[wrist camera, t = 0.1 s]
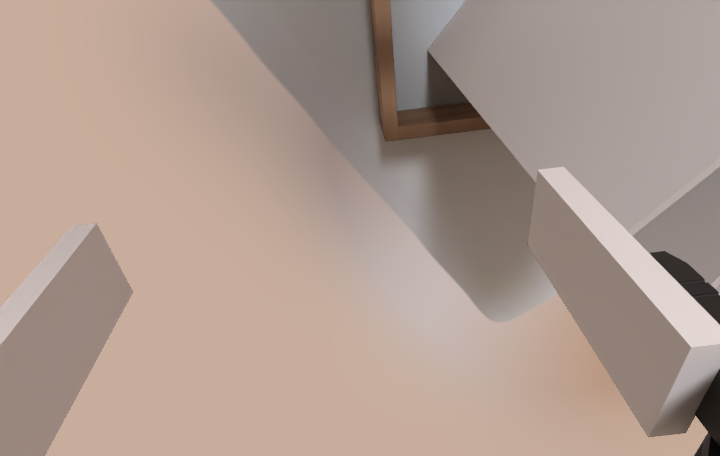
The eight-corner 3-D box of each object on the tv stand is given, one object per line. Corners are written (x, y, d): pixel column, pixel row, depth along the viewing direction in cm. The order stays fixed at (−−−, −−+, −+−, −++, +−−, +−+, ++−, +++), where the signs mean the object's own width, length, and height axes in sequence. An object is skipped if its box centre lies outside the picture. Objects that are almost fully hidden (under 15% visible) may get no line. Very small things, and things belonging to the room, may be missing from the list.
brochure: (470, 87, 41) (681, 322, 17) (426, 50, 39) (593, 257, 15) (594, -58, 35) (1214, -27, 11) (550, -110, 33) (1194, -221, 9)
